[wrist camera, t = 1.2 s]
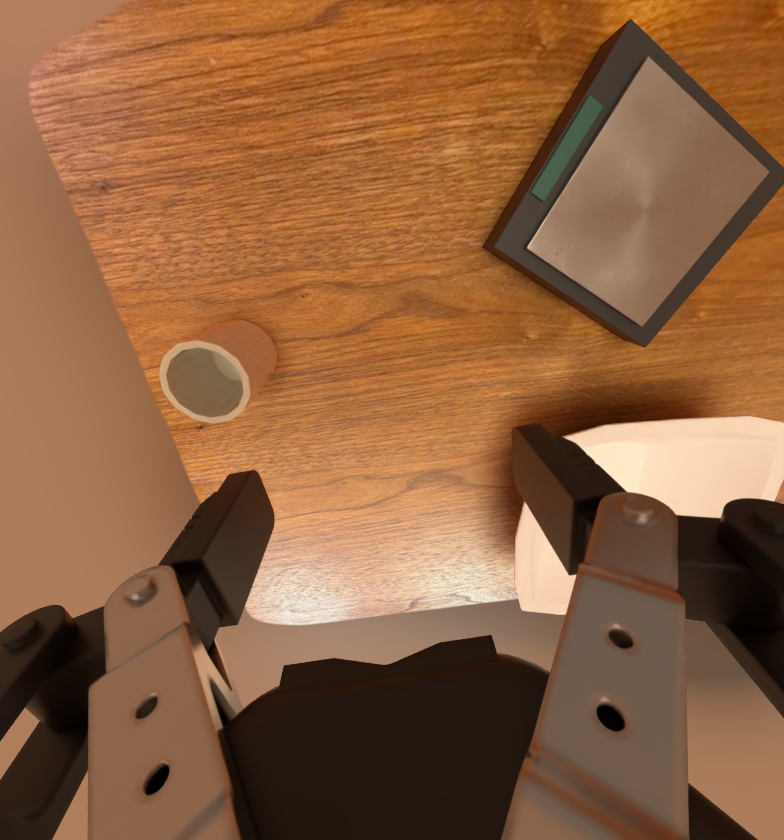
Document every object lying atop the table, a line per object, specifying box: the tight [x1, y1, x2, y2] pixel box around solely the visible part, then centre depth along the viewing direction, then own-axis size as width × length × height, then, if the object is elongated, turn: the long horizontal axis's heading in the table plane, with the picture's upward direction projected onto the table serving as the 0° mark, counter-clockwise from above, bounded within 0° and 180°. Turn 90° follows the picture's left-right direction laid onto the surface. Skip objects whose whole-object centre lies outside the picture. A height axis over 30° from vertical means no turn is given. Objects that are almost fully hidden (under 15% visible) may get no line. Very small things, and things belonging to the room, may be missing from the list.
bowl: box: [514, 415, 784, 615], centre depth 36 cm, size 22×23×8 cm
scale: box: [483, 19, 784, 347], centre depth 27 cm, size 16×14×3 cm
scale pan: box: [524, 56, 770, 327], centre depth 25 cm, size 12×12×1 cm
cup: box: [159, 320, 278, 424], centre depth 28 cm, size 6×6×8 cm
